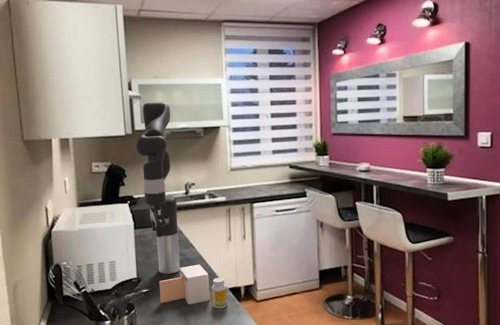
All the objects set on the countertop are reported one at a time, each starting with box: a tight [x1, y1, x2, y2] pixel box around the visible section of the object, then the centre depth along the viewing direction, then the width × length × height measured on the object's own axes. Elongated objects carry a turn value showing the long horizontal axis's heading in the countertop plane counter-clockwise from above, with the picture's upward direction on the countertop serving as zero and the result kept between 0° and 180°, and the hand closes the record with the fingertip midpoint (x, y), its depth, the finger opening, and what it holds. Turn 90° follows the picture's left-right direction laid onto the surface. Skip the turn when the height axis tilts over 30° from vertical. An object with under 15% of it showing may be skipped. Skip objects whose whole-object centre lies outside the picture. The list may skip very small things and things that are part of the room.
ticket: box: [159, 276, 185, 303], centre depth 160 cm, size 1×14×8 cm, turn 113°
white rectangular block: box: [178, 264, 211, 305], centre depth 162 cm, size 12×8×10 cm
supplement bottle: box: [211, 277, 228, 309], centre depth 153 cm, size 5×5×10 cm
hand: (157, 233), depth 158 cm, fingers open, 8 cm apart
